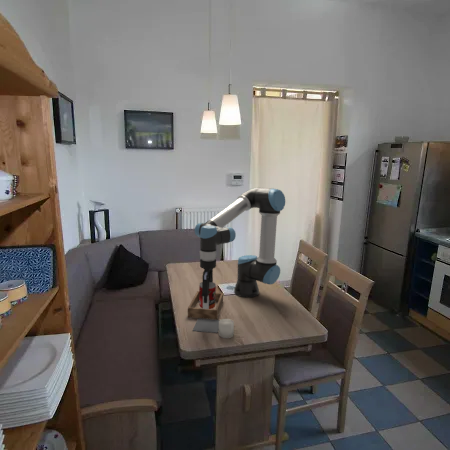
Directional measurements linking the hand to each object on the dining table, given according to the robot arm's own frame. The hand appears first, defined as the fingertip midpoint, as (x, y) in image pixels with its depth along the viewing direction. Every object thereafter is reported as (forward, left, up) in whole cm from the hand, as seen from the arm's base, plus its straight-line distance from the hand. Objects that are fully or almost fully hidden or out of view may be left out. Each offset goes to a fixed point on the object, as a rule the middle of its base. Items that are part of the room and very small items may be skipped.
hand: (207, 304), depth 152 cm
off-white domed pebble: (-10, +6, -11) cm, 16 cm away
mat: (0, 0, -11) cm, 11 cm away
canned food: (0, 0, -1) cm, 1 cm away
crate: (+4, -18, -11) cm, 22 cm away
